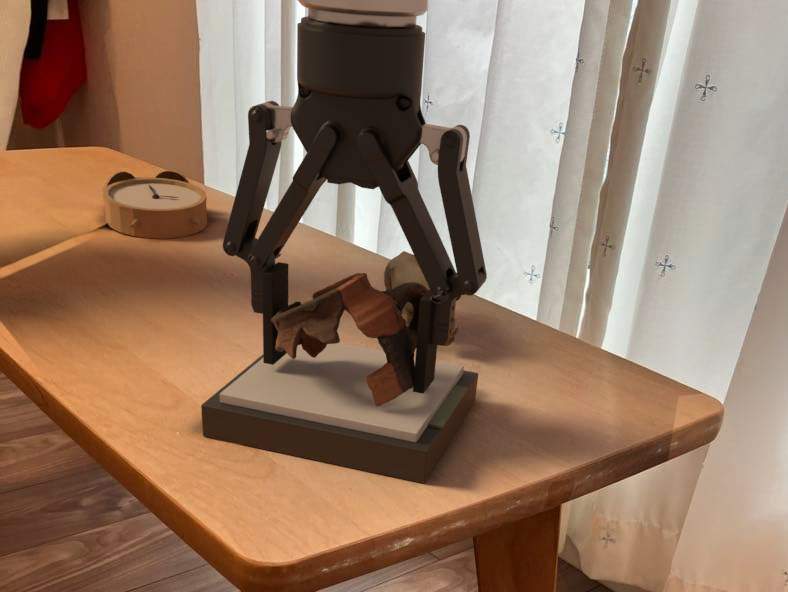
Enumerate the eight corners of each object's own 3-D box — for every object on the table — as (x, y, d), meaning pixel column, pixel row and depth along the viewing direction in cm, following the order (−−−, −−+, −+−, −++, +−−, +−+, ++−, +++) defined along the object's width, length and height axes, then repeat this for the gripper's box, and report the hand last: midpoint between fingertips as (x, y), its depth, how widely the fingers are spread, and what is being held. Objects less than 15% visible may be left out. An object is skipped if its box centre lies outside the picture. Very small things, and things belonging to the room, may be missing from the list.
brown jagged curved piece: (353, 430, 61) (295, 311, 58) (290, 434, 69) (237, 330, 66) (484, 348, 66) (437, 235, 63) (412, 361, 74) (367, 261, 71)
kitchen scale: (202, 436, 65) (200, 395, 63) (283, 364, 76) (283, 328, 75) (424, 483, 62) (428, 441, 60) (475, 401, 73) (479, 364, 71)
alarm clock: (112, 213, 99) (89, 156, 109) (115, 257, 103) (93, 197, 112) (218, 210, 103) (187, 155, 113) (217, 252, 107) (187, 195, 116)
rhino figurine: (428, 365, 79) (434, 294, 75) (373, 308, 89) (376, 244, 86) (473, 361, 80) (481, 291, 77) (413, 306, 90) (418, 242, 87)
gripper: (152, 1, 55) (176, 361, 67) (544, 42, 50) (494, 423, 62) (212, -4, 61) (225, 327, 73) (567, 32, 56) (517, 381, 68)
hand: (348, 371), depth 67 cm, fingers closed on brown jagged curved piece, 10 cm apart
